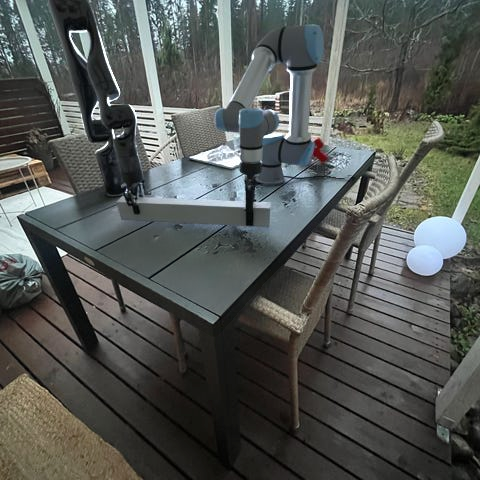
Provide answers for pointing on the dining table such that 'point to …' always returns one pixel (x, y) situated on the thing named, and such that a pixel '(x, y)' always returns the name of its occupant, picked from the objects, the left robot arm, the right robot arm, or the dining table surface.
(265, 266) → the dining table surface
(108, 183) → the left robot arm
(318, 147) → the toy gun
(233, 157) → the relief map
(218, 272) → the dining table surface
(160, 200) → the beam
